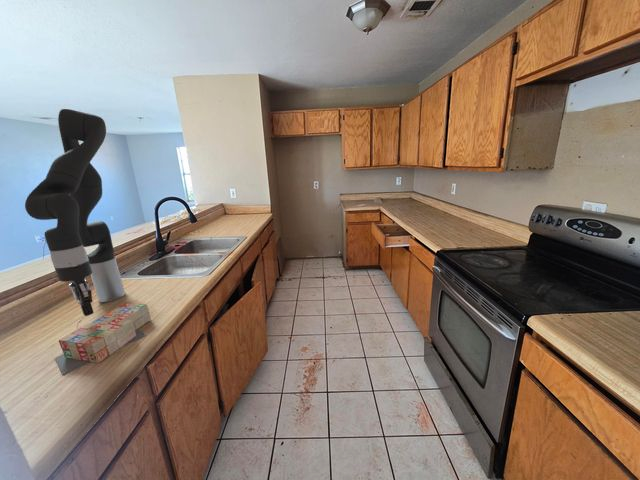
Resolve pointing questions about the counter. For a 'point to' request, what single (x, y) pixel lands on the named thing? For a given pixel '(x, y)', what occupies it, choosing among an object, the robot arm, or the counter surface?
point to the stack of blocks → (105, 333)
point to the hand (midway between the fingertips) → (88, 314)
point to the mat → (72, 364)
